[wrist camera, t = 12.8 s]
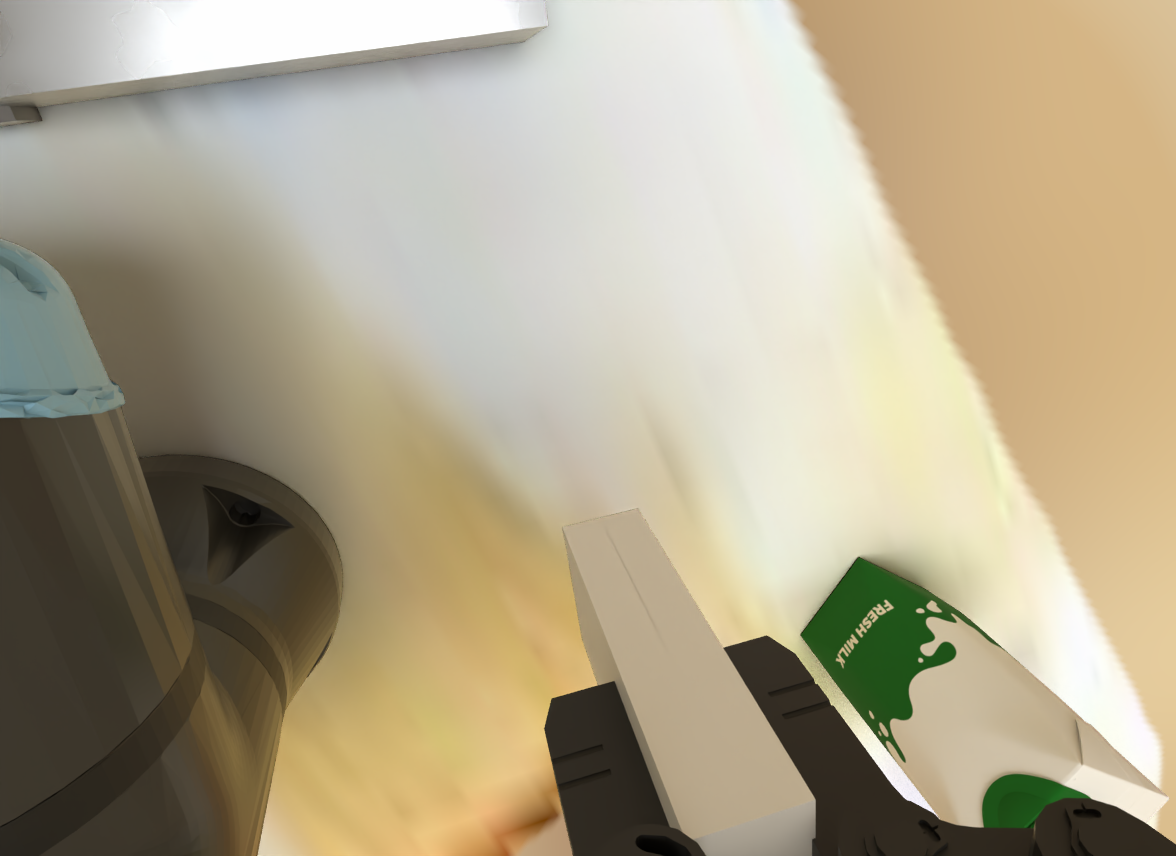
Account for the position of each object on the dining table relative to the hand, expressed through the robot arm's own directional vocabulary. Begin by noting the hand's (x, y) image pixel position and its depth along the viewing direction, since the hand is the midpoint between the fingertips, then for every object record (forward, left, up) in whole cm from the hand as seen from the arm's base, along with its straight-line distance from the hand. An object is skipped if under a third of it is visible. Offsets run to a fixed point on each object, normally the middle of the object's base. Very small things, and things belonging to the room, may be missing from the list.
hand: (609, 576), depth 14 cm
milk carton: (+22, -27, -25) cm, 43 cm away
